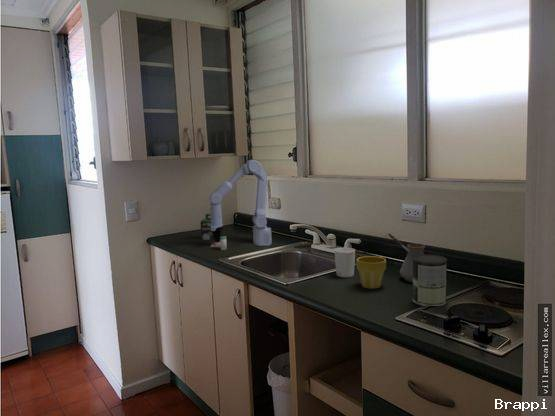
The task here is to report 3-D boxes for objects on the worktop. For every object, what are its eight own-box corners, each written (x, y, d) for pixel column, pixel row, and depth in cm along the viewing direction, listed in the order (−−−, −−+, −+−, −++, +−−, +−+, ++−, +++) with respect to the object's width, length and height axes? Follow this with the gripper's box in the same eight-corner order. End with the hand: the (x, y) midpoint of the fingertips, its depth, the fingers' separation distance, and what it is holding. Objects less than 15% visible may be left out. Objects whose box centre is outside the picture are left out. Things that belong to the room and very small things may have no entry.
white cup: (331, 273, 174) (331, 249, 172) (348, 271, 176) (348, 246, 175) (341, 279, 166) (340, 253, 165) (359, 276, 169) (359, 250, 168)
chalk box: (221, 237, 250) (220, 212, 248) (217, 241, 241) (216, 214, 239) (205, 238, 251) (204, 212, 249) (201, 241, 242) (199, 215, 240)
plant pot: (368, 279, 165) (368, 254, 163) (391, 285, 157) (392, 259, 155) (350, 285, 158) (350, 259, 157) (374, 292, 150) (373, 264, 149)
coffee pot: (439, 281, 160) (439, 240, 158) (415, 286, 155) (415, 244, 153) (398, 267, 179) (398, 231, 177) (376, 271, 174) (376, 234, 172)
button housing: (225, 246, 229) (224, 243, 229) (222, 248, 223) (222, 245, 223) (213, 246, 230) (213, 243, 229) (210, 248, 224) (210, 245, 224)
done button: (221, 245, 228) (221, 241, 227) (220, 247, 224) (219, 242, 224) (215, 245, 228) (215, 241, 228) (214, 247, 225) (213, 242, 225)
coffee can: (405, 299, 142) (405, 257, 140) (428, 293, 147) (428, 252, 145) (429, 309, 133) (430, 264, 131) (453, 302, 138) (454, 259, 136)
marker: (227, 249, 218) (227, 236, 217) (226, 251, 215) (225, 237, 214) (221, 249, 219) (220, 236, 218) (219, 251, 216) (219, 237, 215)
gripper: (212, 213, 232) (214, 239, 234) (204, 218, 217) (206, 245, 219) (225, 213, 231) (226, 239, 233) (218, 218, 216) (219, 245, 218)
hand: (217, 242), depth 226 cm, fingers closed, pressing on done button
